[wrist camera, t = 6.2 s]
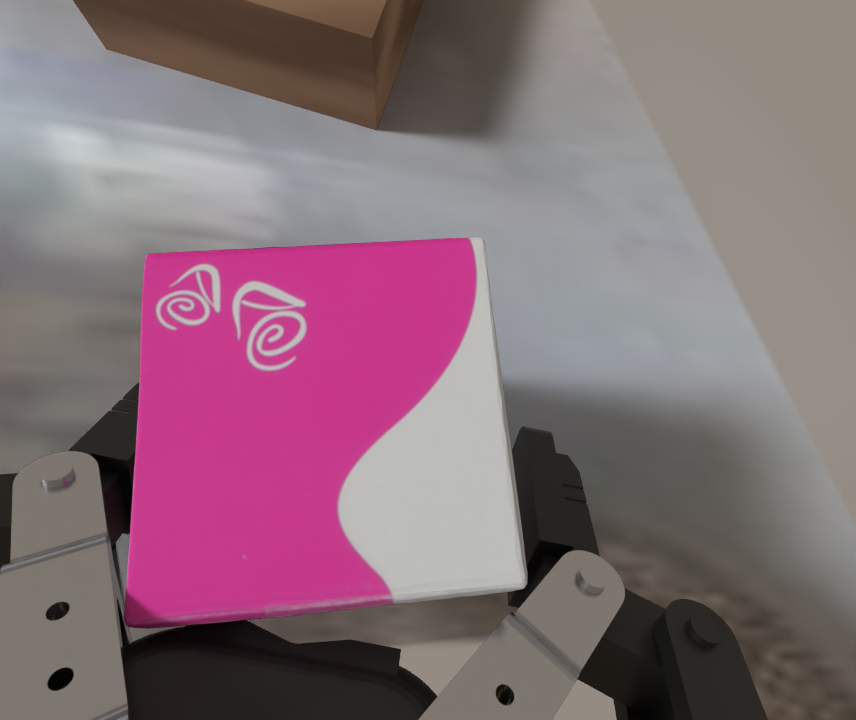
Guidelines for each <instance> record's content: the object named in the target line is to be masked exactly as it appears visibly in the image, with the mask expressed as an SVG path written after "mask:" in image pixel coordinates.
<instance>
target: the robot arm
mask: <svg viewBox="0 0 856 720" xmlns="http://www.w3.org/2000/svg"><path fill="white" fill-rule="evenodd" d="M138 402H139V383H138V384H136V385H135V386H134V387H133V388H132V389H131V390H130V391H129V392H128V393H127V394H126V395H125V396H124V397H123V400H120V401H119V402H118V403H117V404H116V405H115V406H114V407H113V408H112V411H109V412H108V413H107V414H106V415H104V416H103V417H102V418H101V419H100V420H99V421H98V422H97V423H96V424H95V425H94V426H93V427H92V428H91V429H90V430H89V431H88V432H87V433H86V434H85V435H84V436H83V437H82V438H81V439H80V440H79V441H78V442H77V443H76V444H75V445H74V446H73V447H72V448H71V449H70V450H69V451H63V452H57V453H53V454H49V455H46V456H43V457H41V458H38V459H36V460H34V461H33V462H31V463H29V464H28V465H26V466H25V467H24V468H23V469H22V470H21V471H20V472H19V473H15V474H0V720H552V719H553V718H554V716H555V715H556V713H557V711H558V709H559V708H560V706H561V705H562V703H563V701H564V700H565V698H566V697H567V695H568V693H569V692H570V690H571V689H572V687H573V685H574V684H575V682H576V680H577V679H578V680H580V681H582V682H584V683H586V684H588V685H589V686H591V687H593V688H595V689H596V690H598V691H600V692H602V693H604V694H605V695H607V696H609V697H611V698H613V699H614V705H615V711H616V717H617V720H767V717H766V714H765V712H764V709H763V707H762V704H761V701H760V699H759V696H758V694H757V691H756V688H755V686H754V683H753V681H752V678H751V676H750V673H749V670H748V668H747V665H746V663H745V660H744V657H743V655H742V652H741V650H740V647H739V644H738V642H737V640H736V638H735V635H734V634H733V632H732V631H731V629H730V628H729V626H728V625H727V624H726V623H725V622H724V620H723V619H722V618H721V617H720V616H718V615H717V614H716V613H715V612H714V611H712V610H711V609H710V608H708V607H706V606H705V605H703V604H701V603H698V602H696V601H693V600H688V599H679V600H675V601H673V602H671V603H670V604H669V605H668V607H667V608H666V609H665V608H663V607H661V606H659V605H657V604H655V603H653V602H651V601H648V600H646V599H644V598H642V597H640V596H638V595H636V594H634V593H632V592H631V591H629V590H627V589H626V588H624V585H623V582H622V580H621V578H620V576H619V574H618V573H617V572H616V570H615V569H614V568H613V567H612V566H611V565H610V564H609V563H608V562H607V561H605V560H604V559H603V558H601V557H600V555H599V551H598V547H597V543H596V539H595V535H594V531H593V527H592V522H591V518H590V514H589V510H588V506H587V505H586V498H585V494H584V491H583V485H582V481H581V477H580V473H579V471H578V469H577V468H576V466H575V465H574V464H573V462H572V461H571V459H570V458H569V457H568V455H563V454H558V453H556V451H555V446H554V441H553V436H552V433H551V432H547V431H542V430H537V429H533V428H528V427H522V428H521V429H520V431H519V434H518V436H517V439H516V442H515V444H514V447H513V450H512V457H513V465H514V473H515V480H516V488H517V496H518V503H519V511H520V518H521V526H522V533H523V541H524V550H525V560H526V567H527V585H526V586H525V588H524V589H521V590H516V591H511V592H508V606H513V607H518V608H519V609H518V610H517V611H516V612H515V613H514V614H513V613H512V612H511V613H509V614H508V615H507V616H506V617H505V618H504V619H503V620H502V622H501V623H500V624H499V625H498V626H497V627H496V629H495V630H494V631H493V632H492V633H491V634H490V636H489V637H488V638H487V639H486V640H485V642H484V643H483V644H482V645H481V646H480V647H479V649H478V650H477V651H476V652H475V653H474V655H473V656H472V657H471V658H470V659H469V660H468V662H467V663H466V664H465V665H464V666H463V668H462V669H461V670H460V671H459V672H458V673H457V675H456V676H455V677H454V678H453V679H452V680H451V682H450V683H449V684H448V685H447V686H446V688H445V689H444V690H443V691H442V692H441V694H440V695H439V696H438V697H437V695H436V694H435V693H434V692H433V691H432V690H431V689H430V688H429V686H427V685H426V684H425V683H424V682H423V681H422V680H421V679H419V678H418V677H417V676H415V675H414V674H412V673H411V672H410V671H408V670H406V669H404V668H402V667H400V666H399V660H400V652H401V649H397V648H392V647H386V646H381V645H376V644H371V643H365V642H360V641H355V640H340V641H328V642H315V643H302V644H295V643H291V642H288V641H286V640H284V639H282V638H280V637H278V636H276V635H274V634H272V633H270V632H268V631H266V630H264V629H262V628H260V627H258V626H256V625H254V624H253V623H251V622H249V621H247V620H240V621H230V622H219V623H208V624H198V625H186V627H179V628H174V629H168V630H164V631H160V632H157V633H154V634H150V635H148V636H146V637H143V638H141V639H138V640H136V641H134V642H132V638H131V633H130V628H129V627H127V626H126V625H125V622H124V609H125V596H124V589H123V582H122V575H121V569H120V562H119V555H118V549H117V545H116V541H117V540H118V538H119V537H120V536H121V534H122V533H125V534H130V525H131V510H132V496H133V479H134V466H135V452H136V436H137V419H138Z"/></svg>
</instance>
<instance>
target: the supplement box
mask: <svg viewBox="0 0 856 720" xmlns="http://www.w3.org/2000/svg"><path fill="white" fill-rule="evenodd" d="M526 585H527V567H526V560H525V550H524V541H523V533H522V526H521V518H520V511H519V503H518V496H517V488H516V480H515V473H514V465H513V457H512V450H511V442H510V435H509V428H508V421H507V414H506V406H505V398H504V391H503V383H502V375H501V368H500V361H499V353H498V346H497V339H496V332H495V325H494V317H493V310H492V303H491V295H490V287H489V278H488V269H487V262H486V251H485V242H484V240H483V239H481V238H479V237H470V238H446V239H430V240H411V241H392V242H372V243H352V244H332V245H314V246H297V247H268V248H254V249H233V250H212V251H192V252H171V253H154V254H147V255H146V256H145V263H144V273H143V288H142V309H141V336H140V382H139V402H138V419H137V436H136V452H135V466H134V479H133V496H132V510H131V525H130V540H129V554H128V567H127V582H126V597H125V609H124V622H125V625H126V626H127V627H133V628H161V627H173V626H185V625H198V624H208V623H219V622H230V621H240V620H250V619H261V618H274V617H286V616H294V615H302V614H310V613H320V612H329V611H338V610H347V609H356V608H366V607H376V606H384V605H391V604H399V603H414V602H420V601H428V600H440V599H448V598H455V597H463V596H478V595H485V594H492V593H502V592H511V591H516V590H521V589H524V588H525V586H526Z"/></svg>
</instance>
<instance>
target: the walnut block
mask: <svg viewBox="0 0 856 720" xmlns="http://www.w3.org/2000/svg"><path fill="white" fill-rule="evenodd" d="M73 1H74V2H75V4H76V5H77V7H78V8H79V10H80V11H81V13H82V14H83V16H84V17H85V19H86V20H87V21H88V23H89V24H90V26H91V27H92V29H93V30H94V32H95V33H96V35H97V36H98V38H99V39H100V40H101V42H102V43H103V45H104V46H105V48H106V49H107V50H111V51H114V52H117V53H121V54H124V55H127V56H131V57H134V58H137V59H141V60H144V61H147V62H151V63H154V64H157V65H161V66H164V67H167V68H171V69H174V70H177V71H181V72H184V73H187V74H191V75H194V76H197V77H201V78H204V79H207V80H211V81H214V82H217V83H221V84H224V85H227V86H231V87H234V88H237V89H241V90H244V91H247V92H251V93H254V94H257V95H261V96H264V97H267V98H271V99H274V100H277V101H281V102H284V103H287V104H291V105H294V106H297V107H301V108H304V109H307V110H311V111H314V112H317V113H321V114H324V115H327V116H331V117H334V118H337V119H341V120H344V121H347V122H351V123H354V124H357V125H361V126H364V127H367V128H371V129H374V130H377V128H378V125H379V122H380V119H381V116H382V114H383V111H384V108H385V105H386V103H387V100H388V97H389V94H390V91H391V89H392V86H393V83H394V80H395V78H396V75H397V72H398V69H399V66H400V64H401V61H402V58H403V55H404V52H405V50H406V47H407V44H408V41H409V39H410V36H411V33H412V30H413V27H414V25H415V22H416V19H417V16H418V13H419V11H420V8H421V5H422V2H423V0H73Z"/></svg>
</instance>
